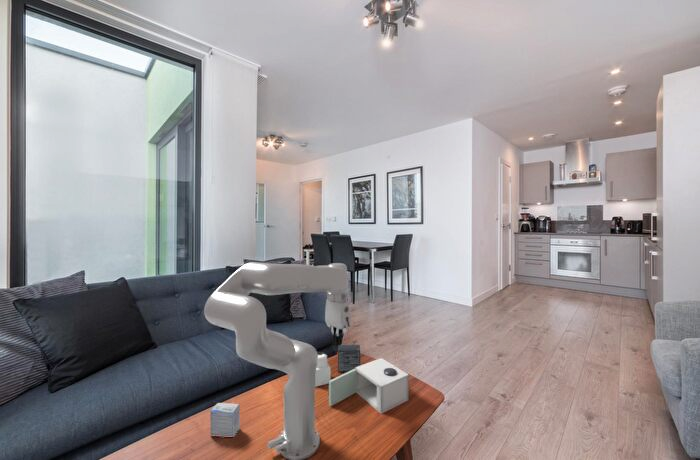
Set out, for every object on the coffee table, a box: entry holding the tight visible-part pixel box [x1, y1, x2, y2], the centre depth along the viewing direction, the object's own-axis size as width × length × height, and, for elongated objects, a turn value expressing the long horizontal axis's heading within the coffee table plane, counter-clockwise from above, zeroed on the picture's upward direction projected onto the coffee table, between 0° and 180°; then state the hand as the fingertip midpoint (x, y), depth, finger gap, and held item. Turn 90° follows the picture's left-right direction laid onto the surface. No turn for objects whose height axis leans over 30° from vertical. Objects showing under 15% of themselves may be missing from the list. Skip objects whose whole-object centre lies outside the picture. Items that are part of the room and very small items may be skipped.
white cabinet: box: [355, 357, 410, 414], centre depth 111 cm, size 14×16×11 cm
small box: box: [337, 344, 361, 374], centre depth 131 cm, size 11×6×10 cm, turn 91°
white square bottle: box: [315, 351, 332, 388], centre depth 121 cm, size 7×7×12 cm
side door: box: [327, 369, 357, 407], centre depth 109 cm, size 2×13×9 cm, turn 132°
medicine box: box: [209, 402, 241, 438], centre depth 91 cm, size 8×4×9 cm, turn 84°
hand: (337, 344), depth 105 cm, fingers closed
